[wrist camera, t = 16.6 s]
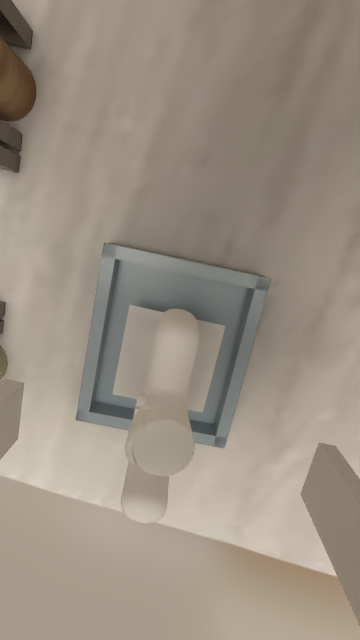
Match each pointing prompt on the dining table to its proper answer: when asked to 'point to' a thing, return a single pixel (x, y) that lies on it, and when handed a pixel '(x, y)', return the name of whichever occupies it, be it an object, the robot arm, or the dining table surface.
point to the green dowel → (2, 362)
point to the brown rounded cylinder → (14, 85)
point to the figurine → (162, 400)
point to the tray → (161, 295)
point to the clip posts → (14, 30)
